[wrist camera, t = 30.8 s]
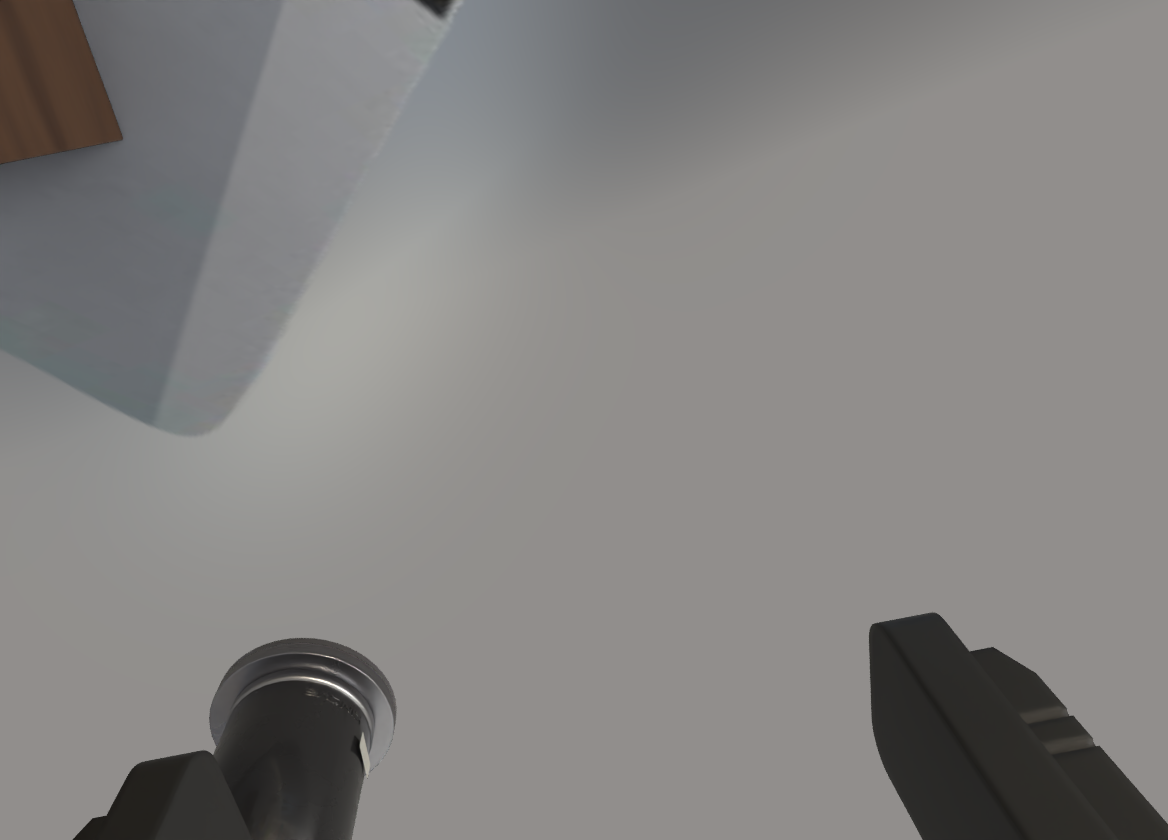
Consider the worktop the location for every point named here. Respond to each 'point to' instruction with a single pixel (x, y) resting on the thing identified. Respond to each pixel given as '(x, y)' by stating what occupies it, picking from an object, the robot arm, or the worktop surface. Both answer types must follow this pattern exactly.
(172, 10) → the worktop surface
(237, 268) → the worktop surface
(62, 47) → the wood grain block
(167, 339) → the worktop surface
